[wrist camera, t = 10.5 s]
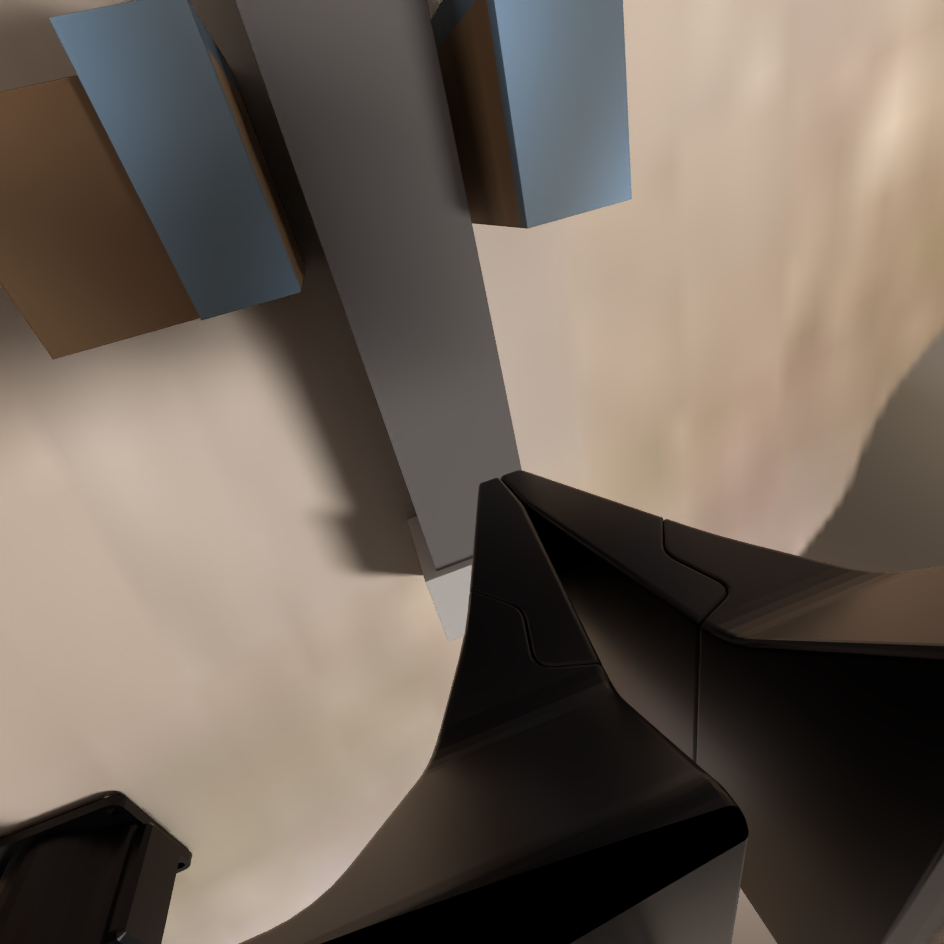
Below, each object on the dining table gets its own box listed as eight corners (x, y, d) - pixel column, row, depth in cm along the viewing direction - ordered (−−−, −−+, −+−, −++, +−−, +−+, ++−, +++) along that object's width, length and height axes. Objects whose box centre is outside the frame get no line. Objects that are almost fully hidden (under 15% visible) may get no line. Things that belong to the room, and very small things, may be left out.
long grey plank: (524, 538, 21) (561, 598, 18) (427, 574, 21) (448, 642, 17) (376, -144, 11) (400, -293, 8) (175, -110, 10) (112, -254, 7)
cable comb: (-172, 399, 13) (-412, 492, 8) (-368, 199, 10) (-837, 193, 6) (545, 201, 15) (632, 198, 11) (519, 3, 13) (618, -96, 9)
